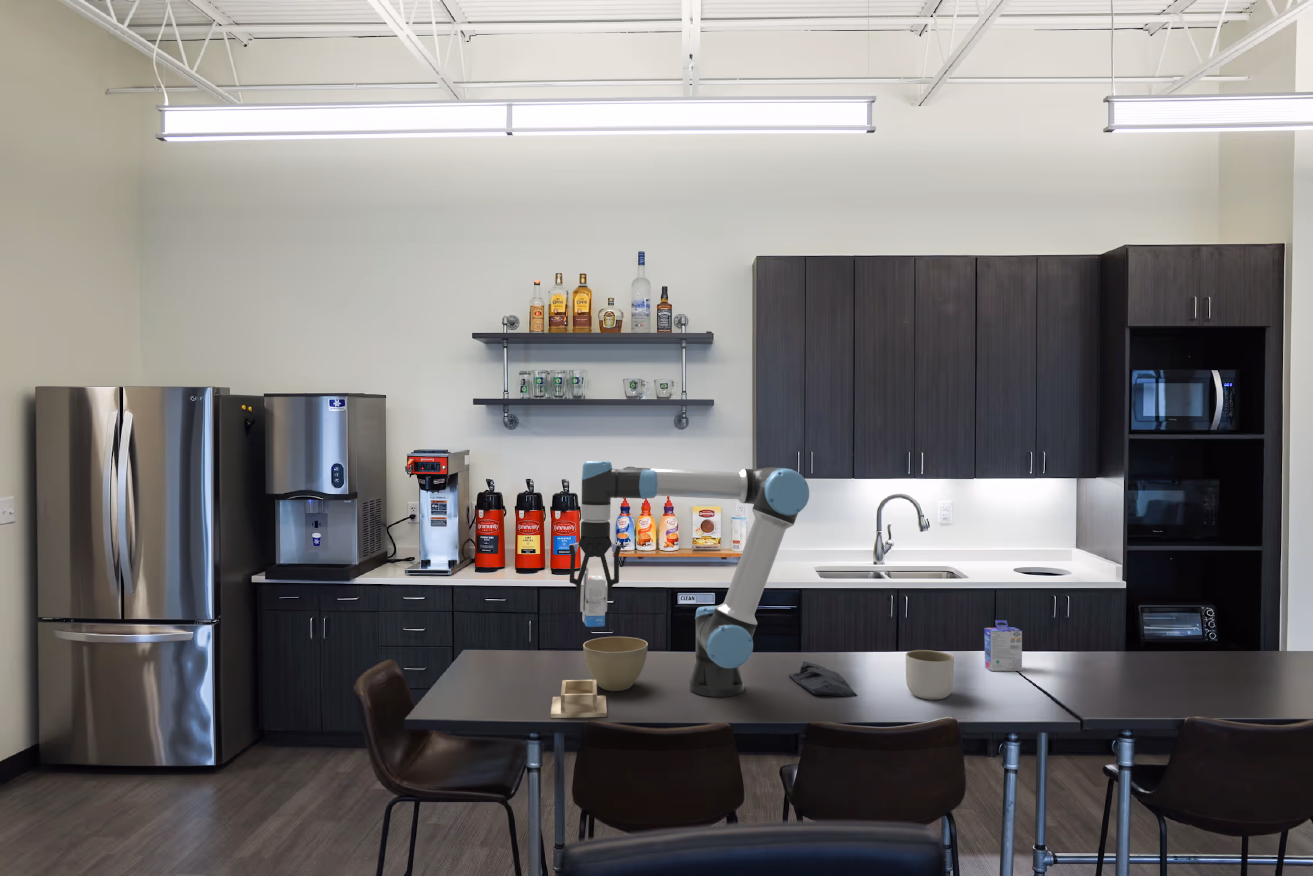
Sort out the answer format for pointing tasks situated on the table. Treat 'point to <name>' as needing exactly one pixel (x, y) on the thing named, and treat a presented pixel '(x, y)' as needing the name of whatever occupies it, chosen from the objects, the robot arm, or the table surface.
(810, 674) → the dark slate chunk
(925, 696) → the planter
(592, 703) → the frame
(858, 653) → the table surface
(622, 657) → the flower pot
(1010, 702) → the table surface
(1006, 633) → the ink cartridge box
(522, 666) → the table surface
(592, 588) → the ink box
